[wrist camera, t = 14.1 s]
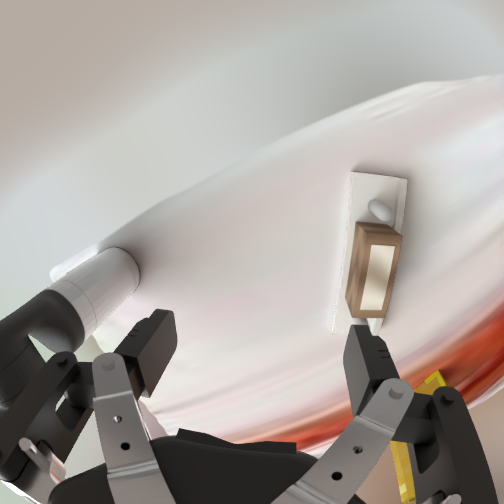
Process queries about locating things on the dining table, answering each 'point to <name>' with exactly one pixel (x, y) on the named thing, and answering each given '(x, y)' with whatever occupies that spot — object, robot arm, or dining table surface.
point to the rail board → (371, 211)
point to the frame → (372, 269)
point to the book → (402, 450)
